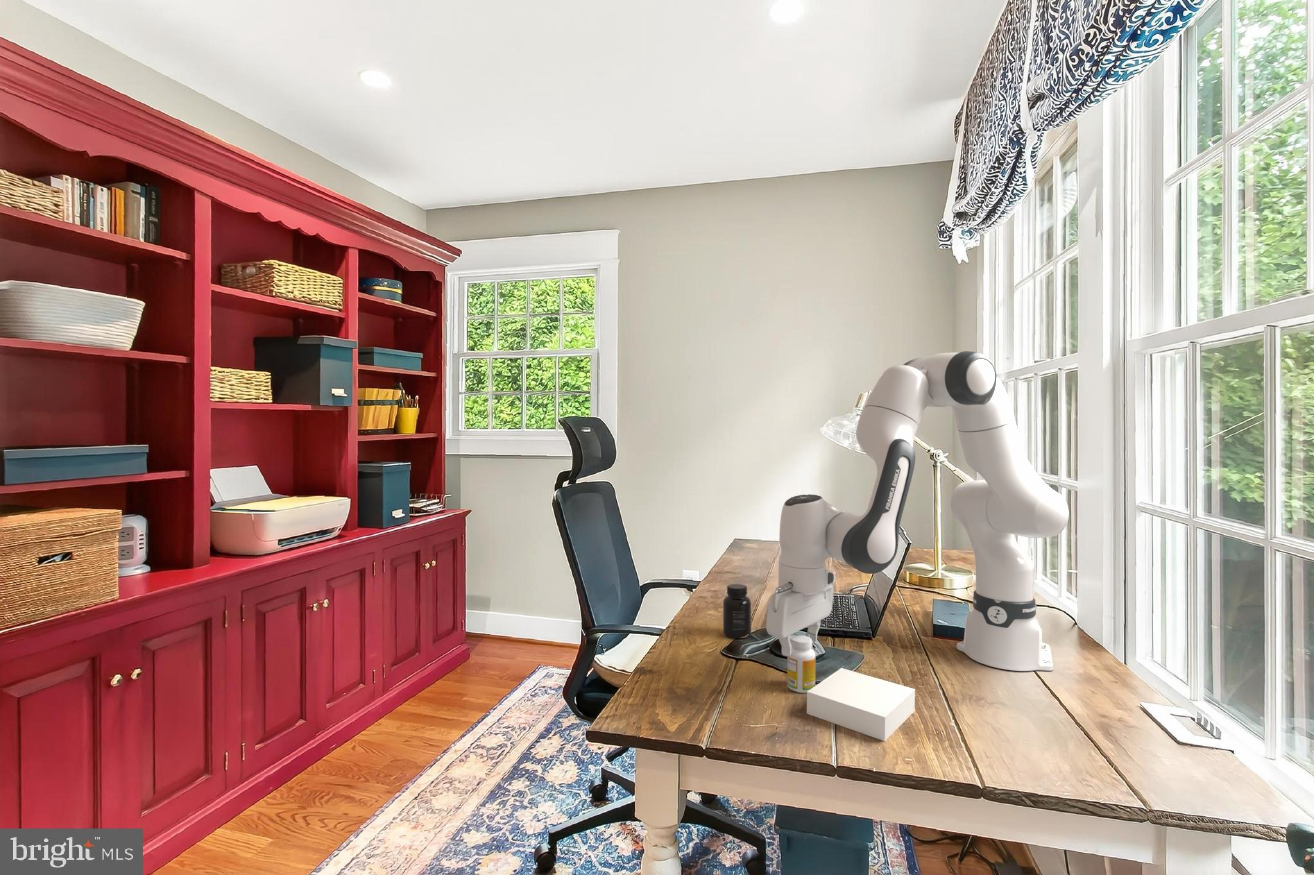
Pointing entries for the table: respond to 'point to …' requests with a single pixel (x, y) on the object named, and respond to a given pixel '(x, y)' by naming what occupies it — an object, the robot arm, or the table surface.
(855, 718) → the plinth
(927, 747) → the table surface
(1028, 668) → the robot arm
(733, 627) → the supplement bottle
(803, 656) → the supplement bottle
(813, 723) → the table surface
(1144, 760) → the table surface
